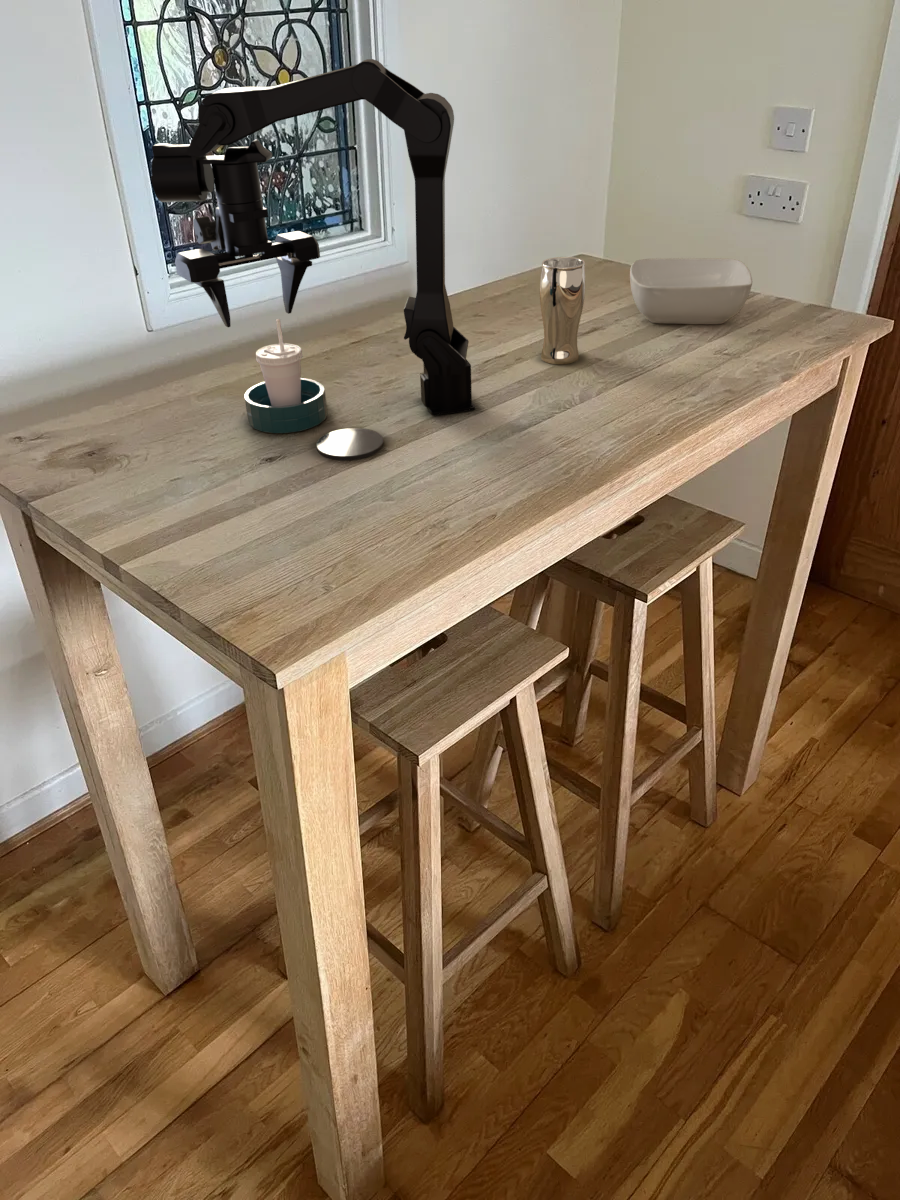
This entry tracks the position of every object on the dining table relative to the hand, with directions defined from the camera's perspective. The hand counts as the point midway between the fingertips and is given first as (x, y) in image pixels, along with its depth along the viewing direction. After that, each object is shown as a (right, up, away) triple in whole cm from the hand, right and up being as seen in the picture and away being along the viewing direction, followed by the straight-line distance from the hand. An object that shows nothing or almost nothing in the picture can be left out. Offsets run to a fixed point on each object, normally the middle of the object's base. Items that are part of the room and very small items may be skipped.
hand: (258, 319), depth 127 cm
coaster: (+13, -18, -5) cm, 23 cm away
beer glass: (+45, 0, +20) cm, 49 cm away
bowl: (+69, +12, +37) cm, 79 cm away
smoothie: (+4, -13, +3) cm, 14 cm away
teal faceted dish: (+4, -13, +3) cm, 14 cm away
